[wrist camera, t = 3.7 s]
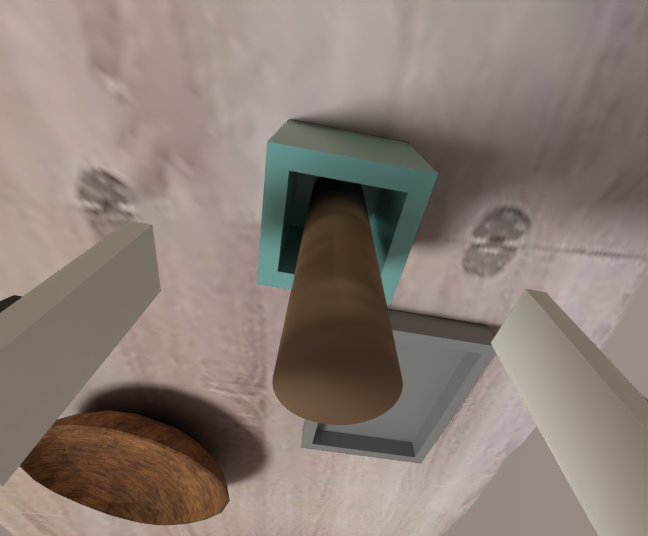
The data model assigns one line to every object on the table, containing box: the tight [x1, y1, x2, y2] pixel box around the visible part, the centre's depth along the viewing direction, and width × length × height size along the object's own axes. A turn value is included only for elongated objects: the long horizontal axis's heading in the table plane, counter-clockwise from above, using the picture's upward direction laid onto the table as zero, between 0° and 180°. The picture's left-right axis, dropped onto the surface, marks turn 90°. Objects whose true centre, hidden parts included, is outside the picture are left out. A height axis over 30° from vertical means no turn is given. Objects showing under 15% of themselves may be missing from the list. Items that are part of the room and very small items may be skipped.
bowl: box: [20, 410, 230, 525], centre depth 36 cm, size 20×22×5 cm
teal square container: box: [257, 120, 438, 306], centre depth 18 cm, size 7×7×7 cm
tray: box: [301, 309, 496, 463], centre depth 29 cm, size 13×18×2 cm
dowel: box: [273, 176, 403, 425], centre depth 14 cm, size 3×3×14 cm
